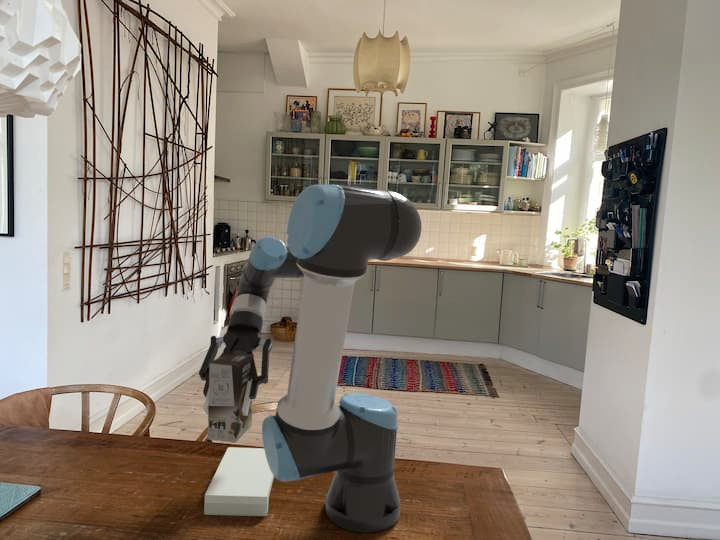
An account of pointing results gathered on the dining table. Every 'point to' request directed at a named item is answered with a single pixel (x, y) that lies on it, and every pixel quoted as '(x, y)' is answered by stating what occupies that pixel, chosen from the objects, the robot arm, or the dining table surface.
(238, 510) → the shelf step
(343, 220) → the robot arm
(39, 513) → the dining table surface
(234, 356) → the coffee box
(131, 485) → the dining table surface
